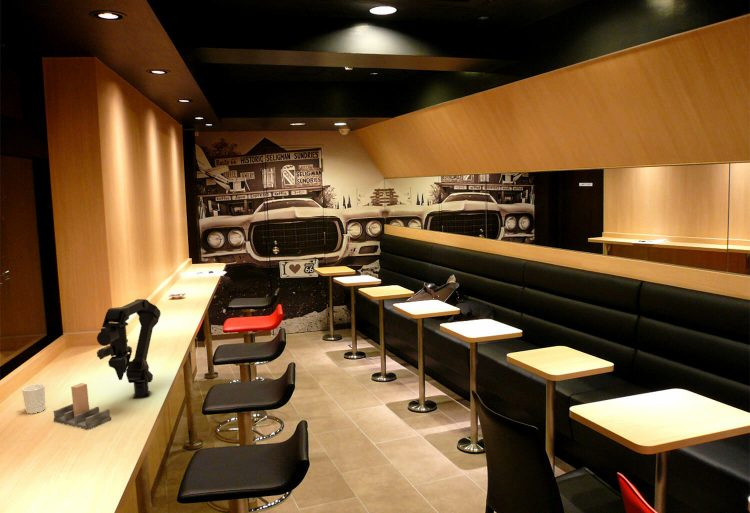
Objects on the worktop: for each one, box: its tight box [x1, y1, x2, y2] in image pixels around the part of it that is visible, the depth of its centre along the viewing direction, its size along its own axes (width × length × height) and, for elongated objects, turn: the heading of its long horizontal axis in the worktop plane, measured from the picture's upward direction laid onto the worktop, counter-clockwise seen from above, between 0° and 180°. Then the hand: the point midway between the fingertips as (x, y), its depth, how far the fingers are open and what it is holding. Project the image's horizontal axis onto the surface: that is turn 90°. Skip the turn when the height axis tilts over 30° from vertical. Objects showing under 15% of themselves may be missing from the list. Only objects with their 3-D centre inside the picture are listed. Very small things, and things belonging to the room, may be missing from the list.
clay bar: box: [70, 382, 90, 419], centre depth 234 cm, size 4×3×13 cm, turn 152°
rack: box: [53, 403, 112, 430], centre depth 235 cm, size 10×20×4 cm, turn 63°
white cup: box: [21, 383, 46, 415], centre depth 246 cm, size 8×8×10 cm
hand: (122, 376), depth 246 cm, fingers open, 9 cm apart
